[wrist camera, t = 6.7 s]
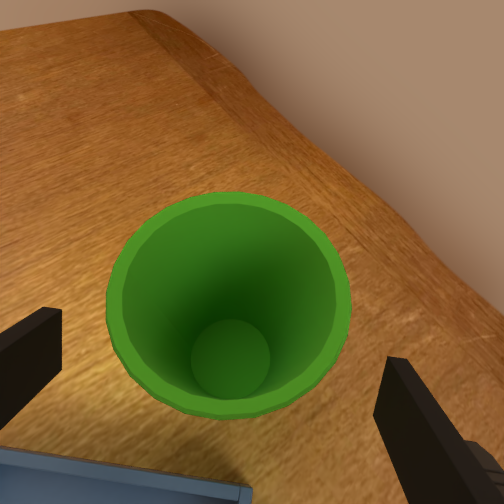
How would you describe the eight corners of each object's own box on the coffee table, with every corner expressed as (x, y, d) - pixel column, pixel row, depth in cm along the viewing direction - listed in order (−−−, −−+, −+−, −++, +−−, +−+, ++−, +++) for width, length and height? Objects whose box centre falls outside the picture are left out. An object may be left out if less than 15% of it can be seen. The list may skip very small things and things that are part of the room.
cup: (294, 454, 20) (350, 445, 11) (137, 423, 20) (57, 388, 11) (308, 306, 25) (356, 208, 15) (179, 284, 25) (149, 174, 16)
